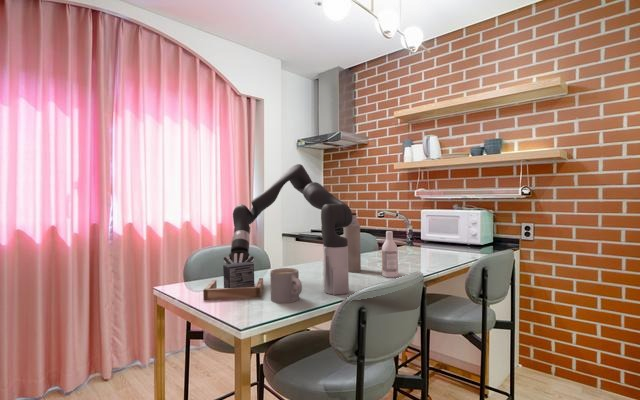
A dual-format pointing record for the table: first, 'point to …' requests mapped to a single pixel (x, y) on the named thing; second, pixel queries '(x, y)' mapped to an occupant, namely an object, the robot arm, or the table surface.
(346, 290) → the robot arm
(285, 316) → the table surface
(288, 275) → the coffee mug
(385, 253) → the bath foam
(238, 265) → the small box
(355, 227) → the thermos bottle
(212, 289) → the walnut tray
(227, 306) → the table surface
